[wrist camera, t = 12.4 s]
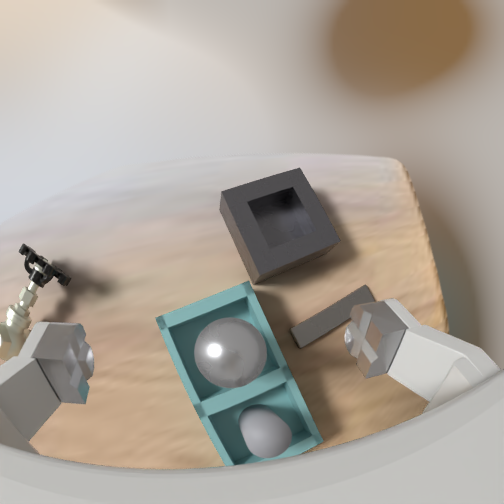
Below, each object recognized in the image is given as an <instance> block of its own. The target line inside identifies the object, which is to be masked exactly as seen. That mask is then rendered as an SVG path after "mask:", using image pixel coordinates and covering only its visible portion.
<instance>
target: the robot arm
mask: <svg viewBox="0 0 504 504" xmlns="http://www.w3.org/2000/svg"><path fill="white" fill-rule="evenodd" d="M350 318H351V319H352V322H351V323H350V324H349V325H348V326H347V328H346V332H345V344H346V347H347V350H348V352H349V353H350V355H352V356H354V357H356V358H357V363H356V365H357V366H358V368H359V369H360V371H361V373H362V374H363V376H364V377H365V378H370V377H374V376H378V375H382V374H385V373H387V374H388V375H389V376H391V377H392V378H394V379H395V380H397V381H398V382H400V383H401V384H403V385H404V386H406V387H407V388H409V389H410V390H412V391H413V392H415V393H417V394H418V395H420V396H421V397H423V398H424V399H426V400H427V401H429V403H428V405H427V406H426V408H425V409H424V411H423V413H422V414H421V415H419V416H417V417H415V418H412V419H410V420H407V421H405V422H403V423H400V424H398V425H395V426H393V427H390V428H387V429H385V430H382V431H379V432H377V433H374V434H371V435H368V436H365V437H362V438H359V439H356V440H353V441H349V442H346V443H343V444H339V445H336V446H332V447H328V448H325V449H321V450H317V451H313V452H308V453H304V454H300V455H295V456H290V457H285V458H280V459H274V460H268V461H262V462H255V463H248V464H240V465H231V466H221V467H209V468H190V469H143V468H125V467H113V466H103V465H95V464H87V463H81V462H74V461H68V460H63V459H58V458H53V457H48V456H44V455H40V454H39V452H38V451H37V450H36V449H35V448H34V447H33V446H32V445H31V444H30V443H29V441H30V439H31V438H32V437H33V436H34V435H35V433H36V432H37V431H38V430H39V429H40V428H41V426H42V425H43V424H44V423H45V422H46V421H47V419H48V418H49V417H50V416H51V415H52V414H53V413H54V411H55V410H56V409H57V408H58V407H59V406H60V405H61V402H64V403H76V404H86V399H87V395H88V391H89V385H88V383H87V380H88V379H89V378H90V377H92V375H93V370H94V357H93V352H92V349H91V347H90V345H89V344H87V343H86V342H85V341H84V339H85V336H86V333H85V331H84V328H83V326H82V325H81V324H79V323H59V322H37V323H36V324H35V325H34V327H33V329H32V331H31V332H30V334H29V336H28V338H27V340H26V342H25V343H24V345H23V347H22V349H21V351H20V353H19V355H18V357H17V356H13V357H12V358H11V359H9V360H8V361H6V362H5V363H4V364H2V365H1V366H0V504H504V369H503V370H501V369H500V368H499V367H498V366H497V365H496V364H495V363H494V362H493V360H491V358H490V357H489V356H488V355H487V354H486V353H485V352H484V351H483V350H482V349H481V348H479V347H477V346H474V345H472V344H470V343H467V342H465V341H462V340H460V339H458V338H455V337H453V336H451V335H448V334H446V333H444V332H441V331H439V330H436V329H434V328H432V327H429V326H427V325H421V324H420V323H419V322H418V321H417V320H416V319H415V318H414V317H413V316H412V315H411V314H410V313H409V312H408V311H407V310H406V309H405V307H404V306H403V305H402V304H401V303H400V302H399V301H398V300H396V299H394V298H391V299H386V300H381V301H378V302H372V303H365V304H359V305H354V306H353V308H352V309H351V313H350Z"/></svg>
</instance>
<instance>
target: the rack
mask: <svg viewBox="0 0 504 504" xmlns="http://www.w3.org/2000/svg"><path fill="white" fill-rule="evenodd" d="M229 317H231V318H239V319H242V320H245V321H247V322H249V323H250V324H252V325H253V326H254V327H256V328H257V329H258V330H259V332H260V333H261V335H262V336H263V338H264V341H265V343H266V348H267V358H266V363H265V366H264V368H263V370H262V372H261V373H260V375H259V376H258V377H257V378H256V379H255V380H254V381H252V382H251V383H249V384H247V385H245V386H242V387H238V388H224V387H220V386H217V385H215V384H213V383H211V382H210V381H208V380H207V379H206V378H205V377H204V376H203V375H202V374H201V372H200V371H199V369H198V367H197V365H196V362H195V356H194V348H195V343H196V340H197V338H198V336H199V334H200V333H201V331H202V330H203V329H204V328H205V327H206V326H207V325H209V324H210V323H212V322H214V321H216V320H218V319H222V318H229ZM156 321H157V324H158V326H159V329H160V331H161V334H162V336H163V339H164V341H165V344H166V346H167V348H168V351H169V353H170V356H171V358H172V360H173V362H174V365H175V367H176V369H177V372H178V374H179V376H180V378H181V380H182V383H183V385H184V387H185V389H186V391H187V393H188V395H189V398H190V400H191V402H192V404H193V406H194V408H195V410H196V412H197V414H198V416H199V418H200V420H201V422H202V424H203V426H204V427H205V429H206V431H207V433H208V435H209V437H210V439H211V441H212V442H213V444H214V446H215V448H216V450H217V452H218V453H219V455H220V457H221V459H222V460H223V462H224V464H225V465H226V466H231V465H240V464H248V463H255V462H262V461H268V460H274V459H280V458H285V457H290V456H295V455H299V454H301V453H303V452H305V451H307V450H309V449H311V448H312V447H314V446H316V445H318V444H320V443H322V442H323V439H322V437H321V435H320V433H319V431H318V429H317V427H316V425H315V422H314V420H313V418H312V416H311V414H310V412H309V410H308V408H307V406H306V403H305V401H304V399H303V397H302V395H301V393H300V391H299V389H298V387H297V384H296V382H295V380H294V378H293V376H292V374H291V372H290V369H289V367H288V365H287V363H286V361H285V359H284V356H283V354H282V352H281V350H280V348H279V346H278V344H277V341H276V339H275V337H274V335H273V333H272V330H271V328H270V326H269V324H268V322H267V320H266V317H265V315H264V313H263V311H262V309H261V306H260V304H259V302H258V300H257V298H256V295H255V293H254V291H253V289H252V287H251V284H250V282H249V281H247V282H244V283H242V284H240V285H237V286H235V287H232V288H230V289H227V290H225V291H222V292H220V293H217V294H215V295H212V296H210V297H207V298H205V299H202V300H200V301H197V302H195V303H192V304H190V305H187V306H185V307H182V308H180V309H177V310H174V311H172V312H169V313H167V314H164V315H162V316H159V317H156Z"/></svg>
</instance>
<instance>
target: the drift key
mask: <svg viewBox="0 0 504 504" xmlns="http://www.w3.org/2000/svg"><path fill="white" fill-rule="evenodd" d="M372 302H375V301H374V299H373V297H372V295H371V293H370V291H369V290H368V288H367V286H366V284H365V285H363V286H362V287H360V288H358V289H357V290H355V291H354V292H352V293H350V294H349V295H347V296H346V297H344V298H342V299H341V300H339V301H337V302H336V303H334V304H332V305H331V306H329V307H327V308H326V309H324V310H322V311H321V312H319V313H317V314H315V315H314V316H312V317H310V318H308V319H307V320H305V321H303V322H301V323H300V324H298V325H296V326H294V327H292V328H291V329H289V330H290V332H291V334H292V336H293V338H294V340H295V342H296V343H297V345H298V347H299V348H302V347H303V346H305V345H307V344H309V343H310V342H312V341H314V340H315V339H317V338H319V337H320V336H322V335H324V334H325V333H327V332H328V331H330V330H332V329H333V328H335V327H336V326H338V325H340V324H341V323H343V322H344V321H346V320H347V319H349V318H350V313H351V309H352V308H353V306H354V305H359V304H365V303H372Z"/></svg>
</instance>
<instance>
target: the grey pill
mask: <svg viewBox="0 0 504 504" xmlns="http://www.w3.org/2000/svg"><path fill="white" fill-rule="evenodd" d="M194 356H195V362H196V365H197V367H198V369H199V371H200V372H201V374H202V375H203V376H204V377H205V378H206V379H207V380H208V381H210V382H211V383H213V384H215V385H217V386H220V387H224V388H238V387H242V386H245V385H247V384H249V383H251V382H252V381H254V380H255V379H256V378H257V377H258V376H259V375H260V373H261V372H262V370H263V368H264V366H265V363H266V358H267V348H266V343H265V341H264V338H263V336H262V335H261V333H260V332H259V330H258V329H257V328H256V327H254V326H253V325H252V324H250V323H249V322H247V321H245V320H242V319H239V318H231V317H229V318H222V319H218V320H216V321H214V322H212V323H210V324H209V325H207V326H206V327H205V328H204V329H203V330H202V331H201V333H200V334H199V336H198V338H197V340H196V343H195V348H194Z"/></svg>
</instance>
